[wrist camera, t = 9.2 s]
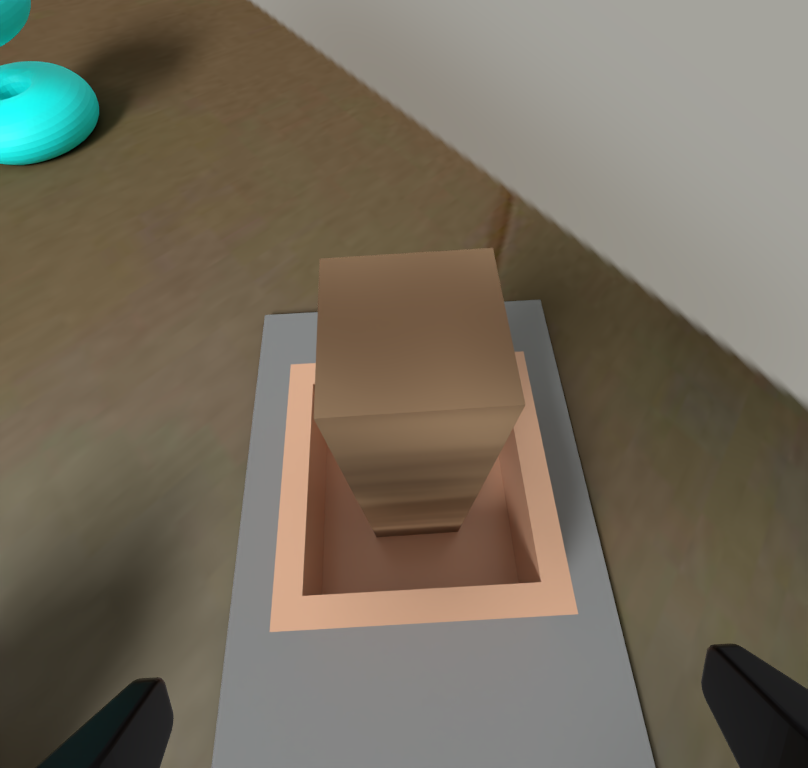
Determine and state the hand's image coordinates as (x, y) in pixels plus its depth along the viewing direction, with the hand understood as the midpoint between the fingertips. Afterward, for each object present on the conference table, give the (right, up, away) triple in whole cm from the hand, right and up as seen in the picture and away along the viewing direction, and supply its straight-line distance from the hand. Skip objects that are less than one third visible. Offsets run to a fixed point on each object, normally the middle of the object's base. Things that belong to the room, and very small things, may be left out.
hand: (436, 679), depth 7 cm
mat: (0, -1, +13) cm, 13 cm away
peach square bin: (0, 0, +13) cm, 13 cm away
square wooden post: (0, 0, +12) cm, 12 cm away
